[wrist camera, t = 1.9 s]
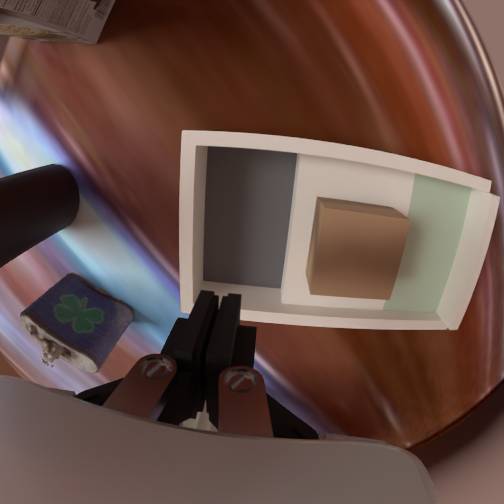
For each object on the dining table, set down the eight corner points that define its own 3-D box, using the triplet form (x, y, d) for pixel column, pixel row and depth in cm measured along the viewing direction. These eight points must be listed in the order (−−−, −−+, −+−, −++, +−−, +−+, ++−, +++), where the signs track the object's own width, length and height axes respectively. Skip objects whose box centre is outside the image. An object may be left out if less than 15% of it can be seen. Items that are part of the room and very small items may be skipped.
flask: (137, 308, 29) (90, 378, 20) (130, 327, 30) (87, 396, 21) (67, 267, 28) (6, 319, 18) (64, 287, 29) (8, 340, 19)
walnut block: (316, 196, 21) (324, 207, 18) (392, 207, 21) (410, 219, 18) (305, 272, 23) (310, 294, 20) (375, 278, 23) (389, 300, 20)
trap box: (197, 130, 23) (175, 130, 17) (463, 172, 22) (502, 184, 16) (193, 286, 28) (176, 323, 22) (428, 305, 27) (453, 338, 22)
